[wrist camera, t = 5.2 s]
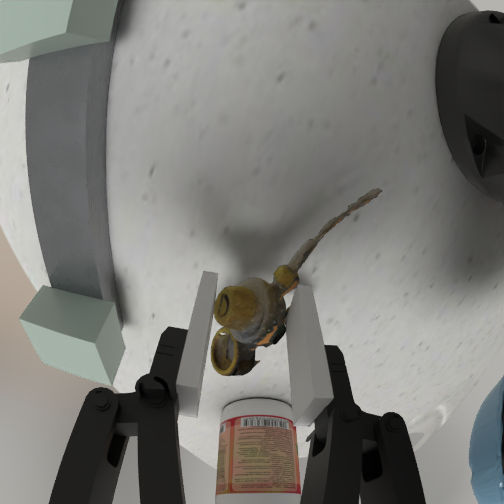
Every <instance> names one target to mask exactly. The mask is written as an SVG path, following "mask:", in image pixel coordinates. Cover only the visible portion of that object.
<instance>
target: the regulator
mask: <svg viewBox="0 0 504 504" xmlns="http://www.w3.org/2000/svg"><path fill="white" fill-rule="evenodd" d="M380 192H382V190H380V189H378V188H377V189H373V190H371V191H370V192H369V193H367V194H366V195H364V196H363V197H361V198H359V199H358V201H357V202H356V203H353V204H351V205H350V206H348V210H347V211H346V212H344V213H342V214H341V215H339V216H338V217H334V218H333V219H332V220H330V221H329V222H328V223H327V224H326V225H325V226H324V227H323V229H322V230H321V231H320V232H319V234H318V236H317V237H315V238H314V239H309V240H308V241H307V242H306V243H305V244H304V245H303V246H302V247H301V248H300V249H299V250H298V251H297V252H296V253H295V255H294V256H293V258H292V259H291V261H290V262H289V263H288V265H282V266H280V267H278V269H277V270H276V271H275V273H274V276H275V277H274V278H273V279H274V281H273V283H271V284H269V283H267V282H266V281H265V280H263V279H260V278H255V277H253V278H248V279H246V280H244V281H242V282H241V283H240V284H239V285H238V286H229V287H225V288H224V289H223V290H222V291H221V292H220V293H219V295H218V297H217V299H216V301H215V307H214V315H215V319H216V321H217V322H218V323H219V324H220V325H221V326H224V327H222V328H221V329H220V330H219V331H217V333H216V335H215V336H214V338H213V341H212V346H211V361H212V365H213V367H214V369H215V370H216V371H217V372H218V373H219V374H221V375H223V376H238V375H244V374H247V373H248V372H250V371H251V370H252V368H253V367H254V366H255V365H256V364H257V363H259V362H260V360H259V361H255V349H256V348H257V347H258V346H264V347H266V348H267V347H268V346H270V345H272V344H276V343H277V342H278V341H279V340H280V339H281V338H282V337H283V335H284V334H285V332H286V327H285V324H284V323H285V320H286V317H287V314H288V311H289V308H290V307H289V308H288V309H287V310H286V304H285V301H284V298H283V296H284V295H285V294H287V293H288V292H289V291H291V290H292V289H294V288H295V287H296V286H297V284H298V283H299V276H298V274H297V272H298V270H299V269H300V268H301V266H302V264H303V263H304V262H305V261H306V259H307V258H308V256H309V255H310V253H311V252H312V251H313V249H314V248H315V247H316V245H317V243H318V242H319V241H320V239H321V238H322V237H323V236H324V235H325V234H326V233H327V232H328V231H329V230H330V229H332V228H333V227H335V225H336V224H337V223H339V222H340V221H342V220H343V219H344V218H345V217H346V216H349V215H350V214H351V212H352V211H354V210H356V209H358V208H360V207H362V206H364V205H366V204H367V203H369V202H370V201H371V200H372V199H374V198H376V197H377V196H378V195H379V194H380ZM219 333H226V335H221V334H219Z"/></svg>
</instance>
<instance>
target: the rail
mask: <svg viewBox="0 0 504 504" xmlns="http://www.w3.org/2000/svg"><path fill="white" fill-rule="evenodd" d="M123 1H124V0H118V3H117V7H116V11H115V15H114V20H113V25H112V30H111V35H110V41H109V42H102V43H95V44H89V45H83V46H77V47H72V48H68V49H63V50H59V51H54V52H50V53H46V54H43V55H39V56H36V57H32V58H30V60H29V68H28V78H27V90H26V153H27V166H28V177H29V185H30V193H31V200H32V206H33V212H34V218H35V223H36V228H37V233H38V238H39V242H40V246H41V250H42V254H43V258H44V262H45V266H46V269H47V273H48V276H49V280H50V283H51V286H52V288H55V289H59V290H63V291H67V292H71V293H75V294H79V295H83V296H88V297H92V298H96V299H101V300H105V301H110V302H115V306H116V311H117V315H118V320H119V324H120V329H121V331H122V328H123V321H122V316H121V311H120V306H119V301H118V295H117V289H116V283H115V277H114V270H113V263H112V255H111V247H110V238H109V227H108V215H107V200H106V174H105V141H106V116H107V101H108V89H109V80H110V71H111V63H112V56H113V50H114V44H115V38H116V33H117V28H118V23H119V18H120V13H121V9H122V5H123Z"/></svg>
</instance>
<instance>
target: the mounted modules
mask: <svg viewBox="0 0 504 504" xmlns="http://www.w3.org/2000/svg"><path fill="white" fill-rule="evenodd" d="M117 3H118V0H0V63H6V62H18V61H22V60H26V59H29V58H32V57H36V56H39V55H43V54H46V53H50V52H54V51H59V50H63V49H68V48H72V47H77V46H83V45H89V44H95V43H102V42H109V41H110V35H111V30H112V25H113V20H114V15H115V11H116V7H117ZM19 319H20V321H21V323H22V326H23V327H24V329H25V332H26V333H27V335H28V337H29V339H30V341H31V343H32V345H33V346H34V348H35V350H36V352H37V354H38V355H39V357H40V359H41V360H42V362H43V363H45V364H47V365H50V366H52V367H55V368H58V369H60V370H63V371H66V372H68V373H71V374H74V375H77V376H80V377H83V378H86V379H89V380H92V381H96V382H99V383H103V384H106V385H109V386H112V385H113V382H114V379H115V376H116V373H117V370H118V368H119V365H120V362H121V359H122V357H123V354H124V351H125V345H124V341H123V337H122V333H121V329H120V324H119V320H118V315H117V311H116V306H115V302H110V301H105V300H101V299H96V298H92V297H88V296H83V295H79V294H75V293H71V292H67V291H63V290H59V289H55V288H52V287H48V286H44V285H43V286H42V287H41V289H40V290H39V291H38V293H37V294H36V295H35V297H34V298H33V299H32V301H31V302H30V304H29V305H28V306H27V308H26V309H25V311H24V312H23V313H22V315H21V316H20V318H19Z"/></svg>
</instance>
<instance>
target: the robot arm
mask: <svg viewBox="0 0 504 504" xmlns="http://www.w3.org/2000/svg"><path fill="white" fill-rule="evenodd" d="M436 84H437V99H438V107H439V113H440V118H441V123H442V127H443V131H444V134H445V137H446V140H447V143H448V146H449V148H450V151H451V153H452V155H453V158H454V159H455V161H456V163H457V165H458V167H459V168H460V170H461V171H462V173H463V174H464V175H465V177H466V178H467V179H468V180H469V181H470V182H471V183H472V184H473V185H474V186H476V187H477V188H479V189H480V190H482V191H483V192H485V193H486V194H488V195H489V196H491V197H492V198H494V199H495V200H497V201H500V202H502V203H504V13H502V12H497V11H480V12H473V13H467V14H464V15H462V16H460V17H458V18H457V19H456V20H455V21H453V23H452V24H451V25H450V26H449V28H448V29H447V31H446V33H445V35H444V37H443V39H442V42H441V46H440V50H439V54H438V61H437V73H436ZM217 280H218V273H214V272H207V271H203V274H202V278H201V282H200V286H199V289H198V293H197V297H196V301H195V305H194V309H193V313H192V317H191V321H190V325H189V329H188V330H186V329H180V328H175V327H168V328H167V329H166V330H165V331H164V332H163V333H162V334H161V337H160V340H159V343H158V346H157V350H156V353H155V356H154V359H153V363H152V366H151V369H150V373H149V374H146V375H144V376H142V377H140V378H139V380H138V381H137V382H136V385H135V390H136V392H133V393H120V394H115V393H113V391H111V390H110V389H108V388H103V387H99V388H95V389H93V390H91V391H90V392H89V394H88V395H87V396H86V398H85V401H84V403H83V406H82V408H81V410H80V413H79V416H78V418H77V420H76V423H75V426H74V428H73V431H72V433H71V436H70V439H69V441H68V444H67V447H66V450H65V453H64V455H63V459H62V461H61V465H60V467H59V470H58V474H57V477H56V480H55V483H54V487H53V490H52V494H51V497H50V501H49V504H112V501H113V497H114V493H115V489H116V485H117V481H118V477H119V473H120V469H121V466H122V462H123V458H124V455H125V451H126V447H127V444H128V441H129V437H130V436H138V470H139V471H138V473H139V489H140V503H141V504H186V502H185V495H184V488H183V487H184V486H183V479H182V469H181V459H180V448H179V436H178V424H177V420H178V415H182V416H188V417H194V418H197V416H198V409H199V402H200V396H201V389H202V382H203V376H204V369H205V363H206V357H207V350H208V344H209V338H210V332H211V326H212V320H213V314H214V307H215V297H216V289H217ZM285 325H286V336H287V348H288V360H289V372H290V386H291V400H292V414H293V426H311V424H312V423H313V422H314V423H315V430H314V431H313V432H312V433H311V434H310V435H309V436H308V437H307V439H306V442H308V441H309V440H310V439H311V442H310V449H309V455H308V462H307V468H306V474H305V480H304V485H303V490H302V495H301V500H300V504H359V494H360V498H361V504H426V502H425V497H424V492H423V488H422V483H421V479H420V475H419V471H418V467H417V463H416V460H415V455H414V452H413V448H412V445H411V441H410V438H409V434H408V431H407V427H406V424H405V422H404V420H403V418H402V417H401V416H400V415H399V414H397V413H395V412H388V413H385V414H384V415H383V416H382V417H381V416H377V415H373V414H369V413H366V412H363V411H362V410H361V409H360V407H359V406H358V405H356V404H355V402H354V399H353V395H352V391H351V386H350V382H349V377H348V373H347V369H346V366H345V360H344V356H343V353H342V352H341V351H340V349H339V348H338V346H334V345H324V342H323V337H322V332H321V327H320V323H319V318H318V313H317V309H316V304H315V300H314V295H313V291H312V286H306V285H299V284H298V285H297V288H296V291H295V294H294V297H293V300H292V302H291V305H290V308H289V311H288V314H287V317H286V320H285ZM469 466H470V468H471V470H472V478H471V485H472V489H473V492H474V495H475V497H476V499H477V501H478V503H479V504H504V376H503V377H502V379H501V380H500V381H499V382H498V384H497V385H496V386H495V387H494V388H493V390H492V391H491V392H490V393H489V394H488V396H487V397H486V399H485V401H484V402H483V403H482V405H481V407H480V410H479V412H478V414H477V417H476V419H475V422H474V426H473V429H472V434H471V440H470V448H469Z"/></svg>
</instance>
